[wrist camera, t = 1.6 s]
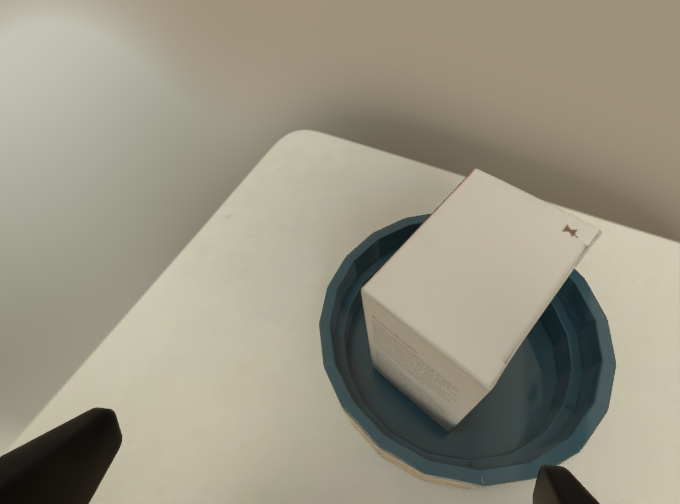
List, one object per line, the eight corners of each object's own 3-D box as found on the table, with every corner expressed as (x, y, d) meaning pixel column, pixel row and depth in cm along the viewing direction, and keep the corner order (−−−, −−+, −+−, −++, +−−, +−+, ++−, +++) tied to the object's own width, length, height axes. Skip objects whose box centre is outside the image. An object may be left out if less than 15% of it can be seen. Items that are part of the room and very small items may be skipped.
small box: (447, 277, 26) (477, 161, 17) (525, 329, 23) (608, 225, 14) (368, 367, 23) (355, 286, 14) (448, 437, 20) (491, 391, 12)
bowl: (635, 404, 21) (690, 383, 17) (406, 544, 18) (410, 556, 15) (473, 222, 28) (486, 180, 24) (297, 307, 26) (281, 274, 22)
